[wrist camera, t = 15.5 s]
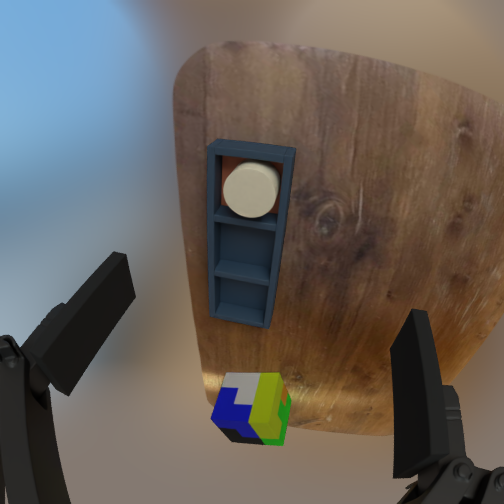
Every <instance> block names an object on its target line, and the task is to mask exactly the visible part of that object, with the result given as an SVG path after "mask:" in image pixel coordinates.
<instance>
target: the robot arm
mask: <svg viewBox="0 0 504 504" xmlns="http://www.w3.org/2000/svg"><path fill="white" fill-rule="evenodd" d="M135 298H136V295H135V291H134V287H133V283H132V278H131V274H130V270H129V266H128V260H127V255H126V254H123V253H118V252H113V253H112V254H111V255H110V256H109V257H108V258H107V259H106V260H105V261H104V262H103V263H102V264H101V265H100V266H99V268H98V269H97V270H96V271H95V272H94V273H93V274H92V275H91V276H90V277H89V278H88V279H87V281H86V282H85V283H84V284H83V285H82V286H81V287H80V288H79V290H78V291H77V292H76V293H75V294H74V295H73V296H72V298H71V299H70V300H69V301H68V302H67V303H66V304H64V303H60V304H59V305H57V306H56V307H54V308H53V309H52V310H51V311H50V312H49V313H48V314H47V316H46V318H44V319H43V320H42V322H41V324H40V325H38V326H37V328H36V329H35V330H34V331H33V332H32V334H31V335H30V336H29V337H28V339H27V340H26V341H25V342H24V344H23V345H22V346H21V347H19V346H18V344H17V343H16V341H15V340H14V338H13V337H12V336H10V335H3V336H0V504H5V487H6V492H7V498H8V503H9V504H71V502H70V498H69V495H68V491H67V487H66V484H65V480H64V475H63V471H62V467H61V462H60V458H59V452H58V447H57V441H56V436H55V429H54V423H53V415H52V407H51V397H50V390H49V387H48V385H49V384H50V382H51V384H52V385H53V386H54V387H55V389H56V390H58V391H60V392H61V393H63V394H65V395H67V396H69V395H70V394H71V392H72V390H73V389H74V387H75V386H76V384H77V383H78V381H79V380H80V378H81V376H82V375H83V373H84V372H85V370H86V369H87V367H88V365H89V364H90V362H91V361H92V360H93V358H94V357H95V355H96V354H97V352H98V350H99V349H100V348H101V346H102V345H103V343H104V342H105V340H106V338H107V337H108V336H109V334H110V333H111V331H112V330H113V329H114V327H115V326H116V324H117V323H118V321H119V320H120V319H121V317H122V316H123V314H124V313H125V311H126V310H127V309H128V307H129V306H130V304H131V303H132V302H133V300H134V299H135ZM390 355H391V367H392V382H393V404H394V466H393V478H411V477H413V476H415V475H416V474H418V480H417V481H416V482H414V483H412V484H410V485H408V486H407V487H406V489H409V488H410V489H409V490H408V492H407V493H406V494H405V495H404V496H403V497H402V498H401V500H400V501H399V502H398V503H397V504H504V467H498V468H496V469H494V470H493V471H489V470H485V469H482V468H478V467H475V466H474V464H473V462H472V461H471V459H469V458H467V456H466V452H465V442H464V433H463V425H462V420H461V411H460V404H459V398H458V395H457V393H456V392H455V389H454V388H453V386H449V385H442V380H441V375H440V369H439V364H438V358H437V353H436V349H435V344H434V339H433V335H432V330H431V326H430V322H429V318H428V314H427V311H424V310H417V309H411V311H410V313H409V315H408V317H407V319H406V321H405V323H404V325H403V326H402V328H401V330H400V332H399V334H398V336H397V337H396V339H395V341H394V343H393V344H392V346H391V348H390Z"/></svg>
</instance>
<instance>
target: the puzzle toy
mask: <svg viewBox="0 0 504 504" xmlns="http://www.w3.org/2000/svg"><path fill="white" fill-rule="evenodd" d="M290 407H291V398H290V396H289V394H288V391H287V389H286V387H285V384H284V382H283V380H282V378H281V375H280V373H279V372H276V373H226V375H225V378H224V380H223V383H222V386H221V389H220V392H219V395H218V398H217V401H216V404H215V407H214V410H213V413H212V416H211V420H212V421H213V422H214V423H215V424H216V426H217V427H218V428H219V429H220V430H221V431H222V432H223V433H224V434H225V435H226V436H227V437H228V438H229V440H230V441H232V442H237V443H248V444H260V445H277V446H283V444H284V439H285V433H286V429H287V423H288V418H289V412H290Z"/></svg>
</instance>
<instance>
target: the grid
mask: <svg viewBox="0 0 504 504" xmlns="http://www.w3.org/2000/svg"><path fill="white" fill-rule="evenodd" d="M295 154H296V148H292V147H285V146H278V145H270V144H262V143H254V142H245V141H236V140H225V139H217V140H215V141H214V142H213V143H211V144H210V145H209V146H207V247H208V286H209V314H210V317H214V318H218V319H223V320H227V321H232V322H237V323H242V324H246V325H251V326H256V327H261V328H266V329H269V327H270V323H271V319H272V315H273V309H274V303H275V297H276V290H277V284H278V277H279V271H280V264H281V257H282V251H283V244H284V237H285V230H286V222H287V215H288V208H289V201H290V193H291V185H292V178H293V170H294V162H295ZM248 158H250V159H257V160H265V161H269V162H270V163H271V164H273V165H274V166H275V168H276V169H277V170H278V172H279V175H280V178H281V186H280V189H279V192H278V195H277V198H276V200H275V203H274V205H273V207H272V208H271V210H270V211H269V212H267V213H266V214H264V215H262V216H260V217H255V218H250V217H244V216H241V215H239V214H237V213H235V212H234V211H233V210H232V209H231V208H230V207H229V206H228V204H227V203H226V201H225V198H224V194H223V187H224V183H225V181H226V179H227V177H228V176H229V175H230V174H231V173H232V171H233V170H234V169H235V168H236V167H237V165H238V164H239V163H240V162H242V161H244V160H246V159H248Z"/></svg>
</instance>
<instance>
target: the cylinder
mask: <svg viewBox="0 0 504 504" xmlns="http://www.w3.org/2000/svg"><path fill="white" fill-rule="evenodd" d="M280 186H281V178H280V175H279V172H278V170H277V169H276V168H275V166H274V165H273V164H271V163H270V162H269V161H265V160H257V159H250V158H248V159H246V160H244V161H242V162H240V163H239V164H238V165H237V167H236V168H235V169H234V170H233V171H232V173H231V174H230V175H229V176H228V177H227V179H226V181H225V183H224V187H223V194H224V198H225V201H226V203H227V204H228V206H229V207H230V208H231V209H232V210H233V211H234V212H235V213H237V214H239V215H241V216H244V217H250V218H255V217H260V216H262V215H264V214H266V213H267V212H269V211H270V210H271V208H272V207H273V205H274V203H275V200H276V198H277V195H278V192H279V189H280Z"/></svg>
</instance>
